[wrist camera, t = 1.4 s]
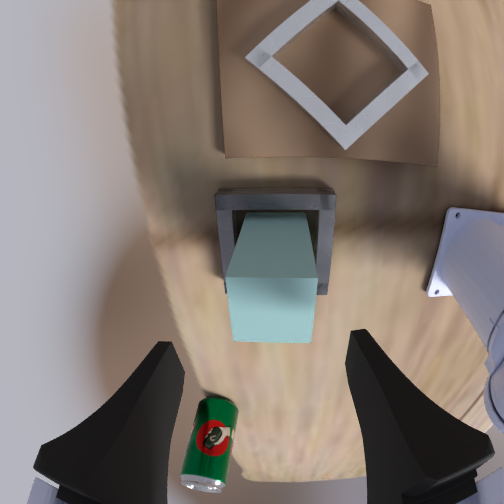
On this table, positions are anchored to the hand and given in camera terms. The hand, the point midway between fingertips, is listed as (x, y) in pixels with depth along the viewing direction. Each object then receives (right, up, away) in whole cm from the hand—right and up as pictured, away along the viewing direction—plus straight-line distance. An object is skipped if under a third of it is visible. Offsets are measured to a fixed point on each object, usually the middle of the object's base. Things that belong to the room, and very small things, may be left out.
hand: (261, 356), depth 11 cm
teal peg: (+1, +5, +9) cm, 11 cm away
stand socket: (+1, +5, +9) cm, 11 cm away
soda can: (-5, -15, +21) cm, 26 cm away
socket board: (+5, +16, +3) cm, 17 cm away
